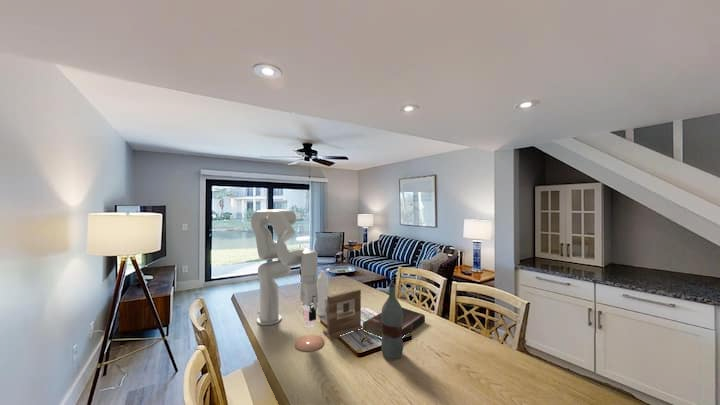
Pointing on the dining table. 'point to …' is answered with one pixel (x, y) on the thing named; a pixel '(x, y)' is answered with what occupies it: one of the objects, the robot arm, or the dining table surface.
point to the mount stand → (342, 313)
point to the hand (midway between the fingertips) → (309, 317)
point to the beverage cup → (307, 317)
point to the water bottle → (322, 292)
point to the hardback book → (409, 323)
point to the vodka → (392, 326)
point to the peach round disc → (309, 343)
